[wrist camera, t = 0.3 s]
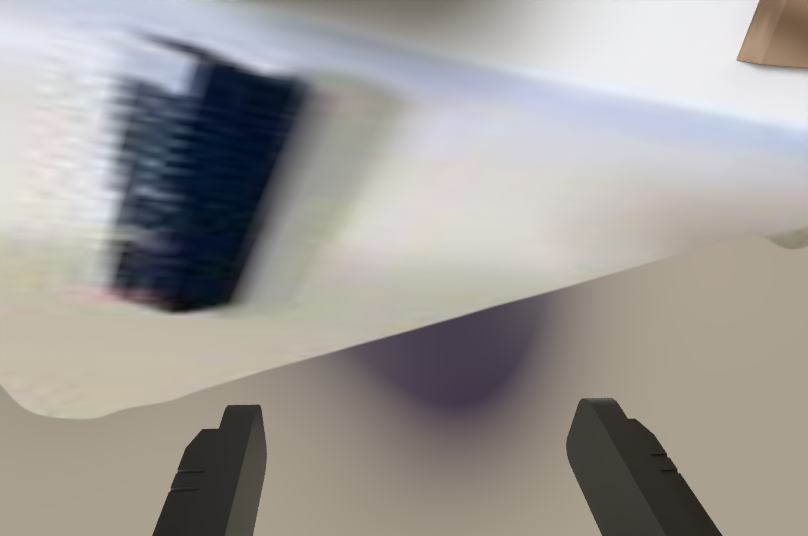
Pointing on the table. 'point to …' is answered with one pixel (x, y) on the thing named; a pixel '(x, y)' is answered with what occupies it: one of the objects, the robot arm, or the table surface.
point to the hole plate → (778, 34)
